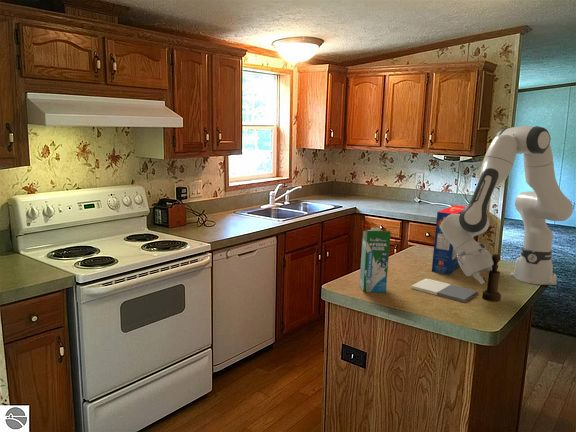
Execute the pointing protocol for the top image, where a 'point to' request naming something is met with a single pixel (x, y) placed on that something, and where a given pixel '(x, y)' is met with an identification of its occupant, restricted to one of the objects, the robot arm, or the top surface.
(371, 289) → the milk carton
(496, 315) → the top surface
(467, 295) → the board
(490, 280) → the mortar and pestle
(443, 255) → the pasta box
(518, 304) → the top surface
